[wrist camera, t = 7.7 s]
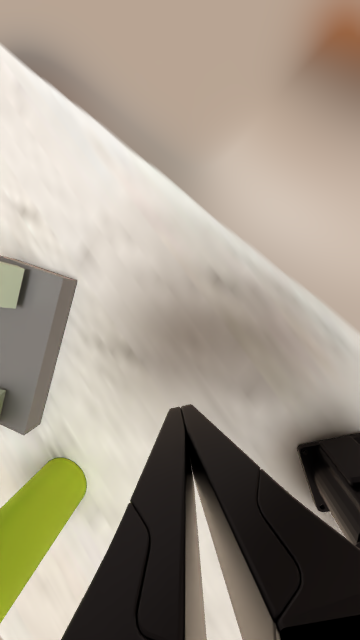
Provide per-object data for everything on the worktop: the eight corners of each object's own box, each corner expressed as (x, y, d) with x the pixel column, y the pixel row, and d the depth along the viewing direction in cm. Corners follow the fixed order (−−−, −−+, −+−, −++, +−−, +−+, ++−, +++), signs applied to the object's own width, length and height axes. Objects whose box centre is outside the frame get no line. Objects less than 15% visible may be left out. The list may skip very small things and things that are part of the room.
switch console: (77, 280, 21) (34, 272, 16) (39, 424, 23) (-9, 458, 18) (14, 259, 22) (-45, 244, 17) (-16, 398, 24) (-78, 424, 19)
